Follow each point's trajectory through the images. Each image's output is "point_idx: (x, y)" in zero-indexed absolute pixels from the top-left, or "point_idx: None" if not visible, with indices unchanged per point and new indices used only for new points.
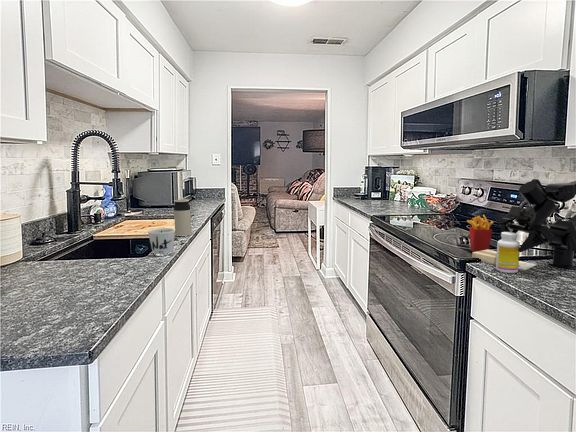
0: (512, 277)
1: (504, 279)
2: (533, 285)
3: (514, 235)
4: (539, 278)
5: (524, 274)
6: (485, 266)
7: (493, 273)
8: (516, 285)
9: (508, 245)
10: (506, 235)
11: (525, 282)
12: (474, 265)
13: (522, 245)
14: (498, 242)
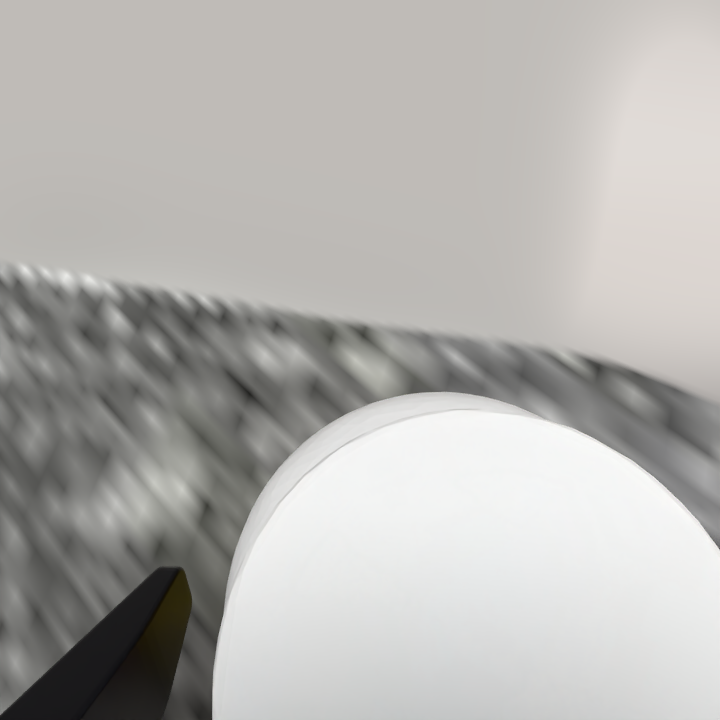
0: (226, 443)
1: (209, 338)
2: (3, 439)
3: (217, 652)
4: None
5: None
6: None
7: (379, 372)
8: (65, 316)
9: (289, 456)
10: (362, 443)
11: (82, 440)
12: (670, 388)
13: (83, 653)
14: (515, 407)
